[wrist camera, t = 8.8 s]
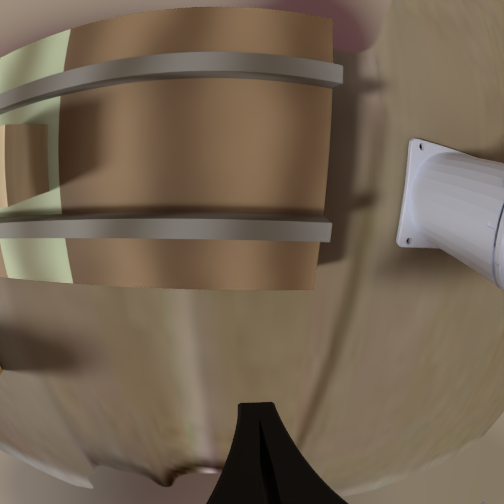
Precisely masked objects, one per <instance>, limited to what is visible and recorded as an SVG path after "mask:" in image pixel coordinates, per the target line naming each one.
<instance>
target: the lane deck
mask: <svg viewBox="0 0 504 504" xmlns="http://www.w3.org/2000/svg"><path fill="white" fill-rule="evenodd" d="M341 84H343V65H339V64H334V63H333V20H332V19H328V18H323V17H318V16H312V15H308V14H302V13H295V12H288V11H280V10H270V9H260V8H245V7H192V8H177V9H166V10H158V11H150V12H143V13H137V14H131V15H125V16H120V17H115V18H111V19H106V20H102V21H98V22H94V23H90V24H87V25H83V26H80V27H76V28H73V29H70V30H67V31H64V32H61V33H58V34H55V35H52V36H49V37H47V38H44V39H42V40H39V41H36V42H34V43H32V44H29V45H27V46H25V47H22V48H20V49H18V50H16V51H14V52H12V53H9V54H7V55H5V56H3V57H1V58H0V126H2V125H7V124H43V125H48V180H49V192H46V193H43V194H40V195H38V196H35V197H32V198H30V199H27V200H24V201H22V202H19V203H17V204H14V205H12V206H9V207H3V208H0V277H7V278H17V279H27V280H38V281H49V282H62V283H75V284H90V285H106V286H124V287H145V288H171V289H207V290H313V289H314V282H315V275H316V269H317V262H318V254H319V247H320V242H330V238H331V230H332V222H330V221H329V220H328V219H327V218H325V217H324V216H323V214H324V204H325V195H326V184H327V173H328V161H329V147H330V132H331V113H332V89H333V88H335V87H337V86H339V85H341Z"/></svg>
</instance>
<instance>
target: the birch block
mask: <svg viewBox="0 0 504 504" xmlns="http://www.w3.org/2000/svg"><path fill="white" fill-rule="evenodd" d="M46 192H49V180H48V125H43V124H7V125H2V126H0V208H3V207H9V206H12V205H14V204H17V203H19V202H22V201H24V200H27V199H30V198H32V197H35V196H38V195H40V194H43V193H46Z"/></svg>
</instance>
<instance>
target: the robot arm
mask: <svg viewBox="0 0 504 504" xmlns="http://www.w3.org/2000/svg"><path fill="white" fill-rule="evenodd" d="M420 144H421V145H422V148H421V150H420V147H419V146H420ZM408 238H409V241H408V242H407V243H406V240H407V239H408ZM396 243H397V244H398V245H399V246H400V247H413V248H440V249H442V250H443V251H445V252H446V253H448V254H450V255H451V256H453V257H454V258H456V259H458V260H459V261H461V262H462V263H464V264H465V265H467V266H468V267H470V268H471V269H473V270H474V271H476V272H477V273H479V274H480V275H482V276H483V277H485V278H486V279H488V280H489V281H490V282H492V283H493V284H495V285H496V286H498V287H499V288H501V289H502V290H503V291H504V163H501V162H496V161H491V160H486V159H481V158H476V157H474V156H471V155H468V154H465V153H462V152H460V151H457V150H454V149H450V148H447V147H444V146H441V145H438V144H434V143H431V142H427V141H424V140H420V139H415V138H412V139H411V140H410V141H409V148H408V160H407V170H406V179H405V187H404V195H403V202H402V209H401V215H400V221H399V227H398V232H397V238H396ZM206 504H348V503H347V502H345V501H344V500H343V499H342V498H341V497H340V496H339V495H337V494H336V493H335V492H334V491H333V490H332V489H331V488H330V487H329V486H328V485H327V484H326V483H325V482H324V481H323V480H322V479H321V478H320V477H319V476H318V474H317V473H316V472H315V471H314V470H313V469H312V467H311V466H310V465H309V464H308V462H307V461H306V460H305V458H304V457H303V456H302V454H301V453H300V451H299V450H298V448H297V447H296V445H295V444H294V442H293V440H292V439H291V437H290V436H289V434H288V432H287V430H286V428H285V427H284V425H283V423H282V421H281V419H280V417H279V414H278V412H277V410H276V407H275V404H274V403H273V402H259V403H240V404H238V418H237V425H236V430H235V434H234V438H233V442H232V445H231V449H230V452H229V455H228V458H227V460H226V463H225V466H224V468H223V471H222V473H221V476H220V478H219V480H218V482H217V484H216V486H215V488H214V490H213V492H212V494H211V496H210V498H209V500H208V502H207V503H206ZM481 504H486V503H485V502H483V503H481Z"/></svg>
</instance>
